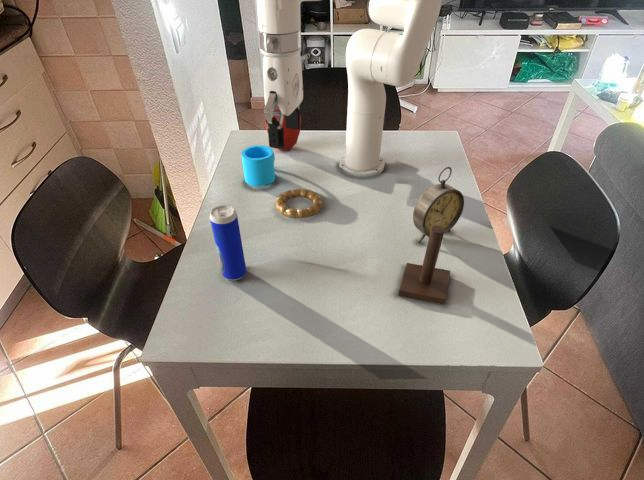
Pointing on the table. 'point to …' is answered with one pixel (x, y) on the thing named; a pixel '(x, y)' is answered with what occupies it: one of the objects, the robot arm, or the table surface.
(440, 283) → the stand
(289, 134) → the apple
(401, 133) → the table surface
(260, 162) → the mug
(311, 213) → the ring
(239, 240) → the beverage can
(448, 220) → the alarm clock
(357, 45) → the robot arm
